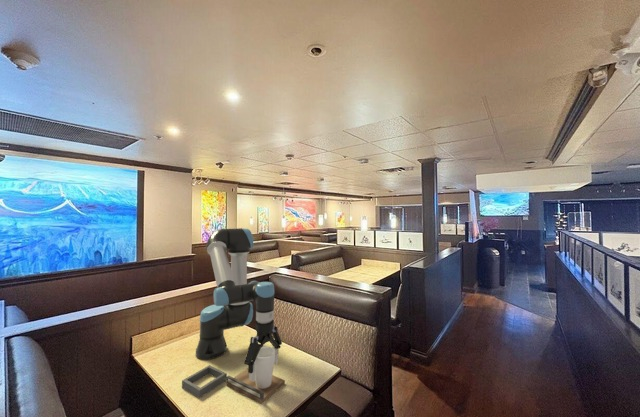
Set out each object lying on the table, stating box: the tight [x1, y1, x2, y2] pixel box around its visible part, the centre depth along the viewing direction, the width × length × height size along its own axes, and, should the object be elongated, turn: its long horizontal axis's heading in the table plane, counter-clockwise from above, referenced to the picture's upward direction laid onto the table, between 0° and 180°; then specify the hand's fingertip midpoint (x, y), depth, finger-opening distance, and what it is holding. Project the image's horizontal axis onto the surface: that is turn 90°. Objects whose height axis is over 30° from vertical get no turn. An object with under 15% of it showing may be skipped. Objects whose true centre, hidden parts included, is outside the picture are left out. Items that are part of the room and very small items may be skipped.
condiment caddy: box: [181, 365, 228, 399], centre depth 110 cm, size 12×13×3 cm
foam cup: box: [254, 346, 275, 389], centre depth 109 cm, size 10×9×13 cm
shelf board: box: [226, 368, 286, 405], centre depth 110 cm, size 20×14×4 cm
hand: (264, 371), depth 108 cm, fingers open, 13 cm apart
